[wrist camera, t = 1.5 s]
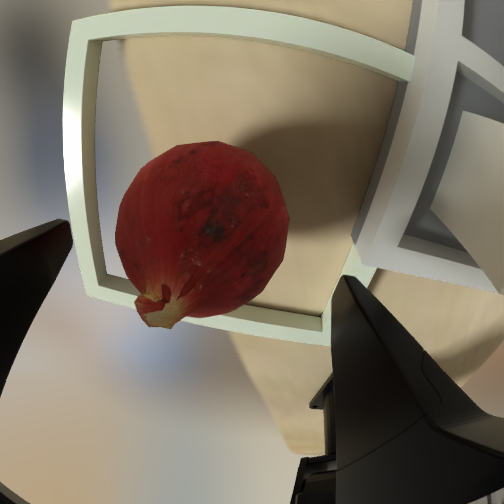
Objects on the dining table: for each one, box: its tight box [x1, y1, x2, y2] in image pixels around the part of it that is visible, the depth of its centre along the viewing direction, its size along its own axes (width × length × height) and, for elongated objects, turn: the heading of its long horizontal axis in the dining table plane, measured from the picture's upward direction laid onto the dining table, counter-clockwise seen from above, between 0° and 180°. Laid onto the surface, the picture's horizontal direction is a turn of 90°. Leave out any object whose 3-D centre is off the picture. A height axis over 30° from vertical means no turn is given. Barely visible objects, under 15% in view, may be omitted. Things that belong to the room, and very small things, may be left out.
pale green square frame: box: [63, 6, 416, 346], centre depth 12 cm, size 16×16×1 cm
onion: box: [115, 141, 289, 329], centre depth 9 cm, size 6×6×8 cm
